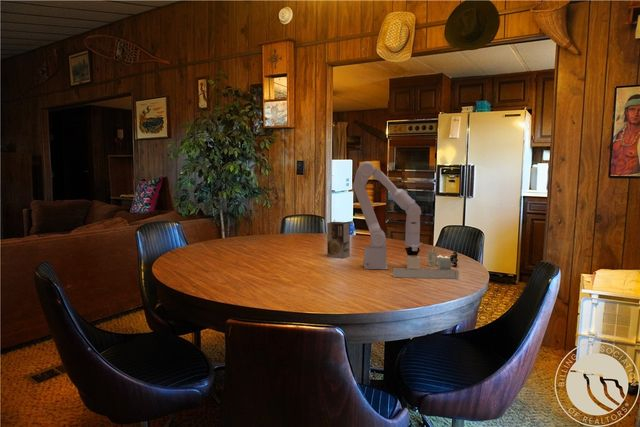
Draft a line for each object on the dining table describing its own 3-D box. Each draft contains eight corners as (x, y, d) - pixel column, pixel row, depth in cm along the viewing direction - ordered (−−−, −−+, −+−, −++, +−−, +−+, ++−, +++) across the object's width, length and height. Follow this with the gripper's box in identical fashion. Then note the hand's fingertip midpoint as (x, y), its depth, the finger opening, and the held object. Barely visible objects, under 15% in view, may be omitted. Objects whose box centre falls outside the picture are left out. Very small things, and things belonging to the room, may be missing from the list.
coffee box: (350, 256, 201) (350, 222, 199) (343, 258, 195) (343, 223, 194) (333, 254, 206) (333, 221, 204) (326, 256, 200) (326, 222, 199)
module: (409, 273, 167) (409, 258, 166) (406, 269, 173) (407, 254, 173) (420, 274, 166) (421, 258, 166) (418, 270, 173) (418, 255, 172)
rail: (393, 277, 160) (393, 262, 160) (391, 272, 169) (391, 257, 168) (458, 279, 158) (459, 263, 158) (453, 273, 167) (453, 258, 166)
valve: (428, 267, 178) (457, 268, 177) (428, 251, 178) (458, 252, 176) (426, 264, 185) (454, 264, 183) (426, 249, 184) (455, 249, 183)
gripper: (425, 235, 167) (424, 269, 168) (419, 230, 181) (418, 261, 182) (407, 235, 167) (406, 268, 168) (402, 230, 181) (402, 261, 183)
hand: (411, 265), depth 175 cm, fingers closed
